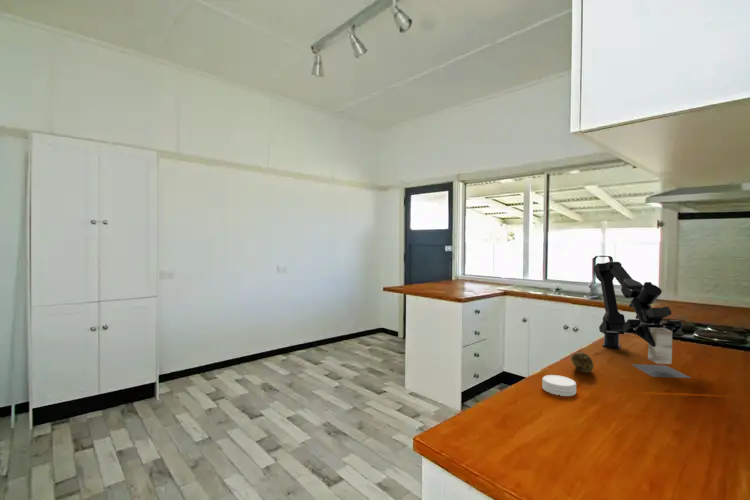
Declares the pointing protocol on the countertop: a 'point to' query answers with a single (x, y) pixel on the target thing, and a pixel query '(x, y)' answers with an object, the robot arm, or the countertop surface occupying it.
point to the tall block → (660, 346)
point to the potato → (582, 362)
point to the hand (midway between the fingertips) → (662, 346)
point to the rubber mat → (660, 371)
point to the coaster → (559, 385)
